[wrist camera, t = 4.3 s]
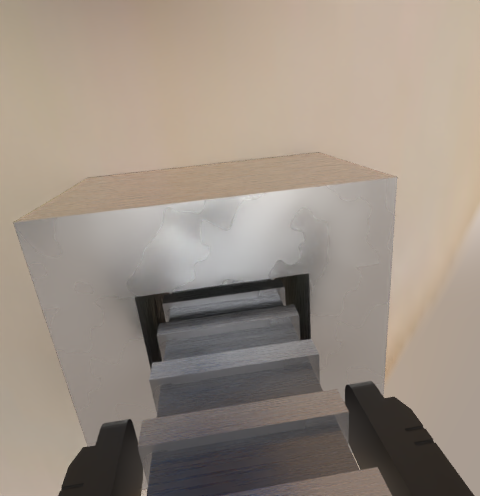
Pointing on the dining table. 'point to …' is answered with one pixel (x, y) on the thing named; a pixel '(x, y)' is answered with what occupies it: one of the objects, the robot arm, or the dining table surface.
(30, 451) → the dining table surface
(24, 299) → the dining table surface
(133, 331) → the housing
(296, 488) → the column
